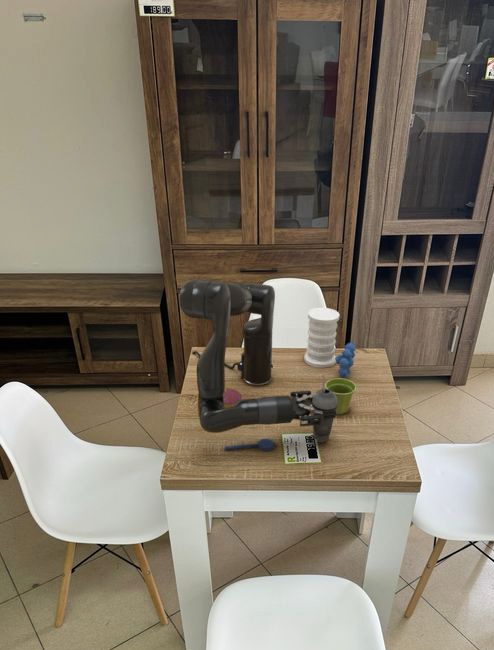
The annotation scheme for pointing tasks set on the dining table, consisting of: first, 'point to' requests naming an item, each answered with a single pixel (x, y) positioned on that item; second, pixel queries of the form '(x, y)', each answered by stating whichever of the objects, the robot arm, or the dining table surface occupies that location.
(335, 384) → the plant pot
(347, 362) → the grapes
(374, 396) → the dining table surface
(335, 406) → the beverage cup
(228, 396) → the cupcake
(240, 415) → the robot arm
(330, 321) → the decorative container
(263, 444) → the spoon
